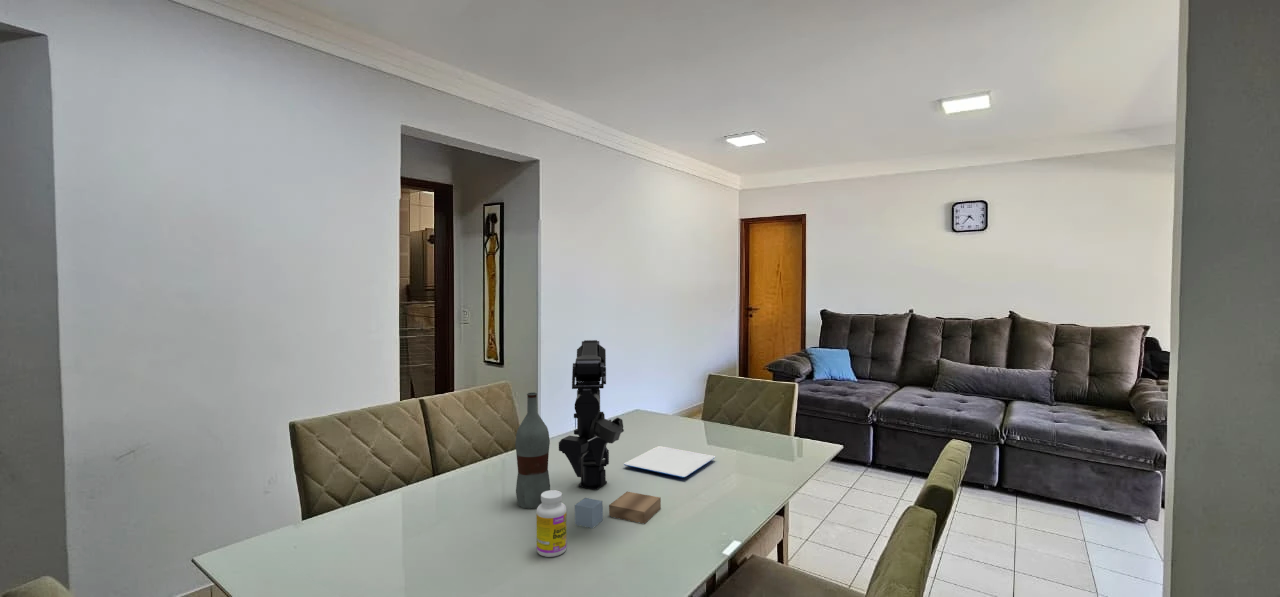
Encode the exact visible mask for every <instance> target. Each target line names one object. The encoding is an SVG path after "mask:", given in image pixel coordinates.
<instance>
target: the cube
mask: <svg viewBox="0 0 1280 597" xmlns="http://www.w3.org/2000/svg"><path fill="white" fill-rule="evenodd" d="M603 505H604V504H603V500H600V499H594V498H589V497H584V498H583V499H581V500H580V501H579V502H577V503H576V504H574V525H575V524H577V525H576V526H579V525H582V526H581V527H584V526H586V527H585V528H588V527H590V528H589V529H593V527H594V526H595V527H596V526H598V523H599V522H600V523H601V522H602V521H603V520H604V518H603V517H604V516H603V514H604V513H603V510H604V509H603V507H604V506H603ZM600 523H599V524H600ZM595 527H594V528H595Z"/></svg>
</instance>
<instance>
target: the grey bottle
mask: <svg viewBox="0 0 1280 597" xmlns="http://www.w3.org/2000/svg"><path fill="white" fill-rule="evenodd" d="M526 396H527V397H526V398H527V406H526V409H527V412H526V415H525V416H524V418H523V420H522V422H521V423H520V424H519V427H518V428H517V431H516V435H515V442H514V443H515V452H516V453H515V454H516V464H517V476H516V477H517V478H516V484H515V495H516V496H515V497H516V501H517V504H518V506H519V507H520V506H521V507H520V508H522V507H523V508H522V509H526V508H535V509H537V508H538V506H539V505H540V504H542V502H541V494H542V493H543V492H545V491H549V490H551V481H550V474H549V454H550V444H551V443H550V434H549V429H548V426H547V425H546V424H545V422H544V421H543V419H542V417H541V416H540V414H539V413H538V393H537V392H535V391H534V392H527V393H526Z"/></svg>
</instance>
